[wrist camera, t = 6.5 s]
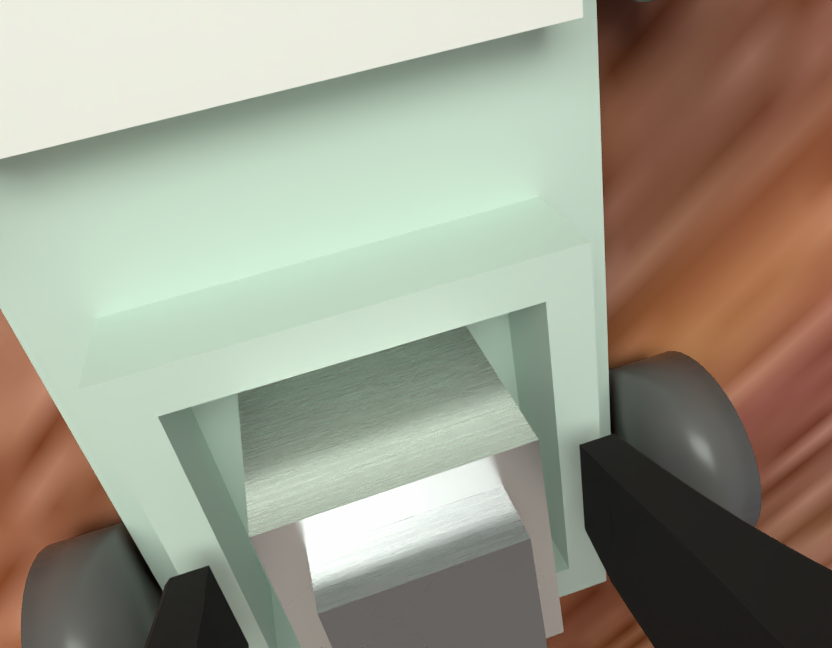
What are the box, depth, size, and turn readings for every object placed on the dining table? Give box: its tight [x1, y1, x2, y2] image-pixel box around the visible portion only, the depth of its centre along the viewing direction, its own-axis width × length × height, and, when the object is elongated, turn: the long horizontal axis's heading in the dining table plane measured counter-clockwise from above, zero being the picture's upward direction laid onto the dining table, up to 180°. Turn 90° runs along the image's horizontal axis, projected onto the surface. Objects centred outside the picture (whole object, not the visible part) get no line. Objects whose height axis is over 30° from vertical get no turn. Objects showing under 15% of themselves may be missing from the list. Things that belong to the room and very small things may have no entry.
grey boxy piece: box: [237, 326, 564, 648], centre depth 12 cm, size 4×4×5 cm
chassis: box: [0, 0, 761, 648], centre depth 11 cm, size 16×13×4 cm
